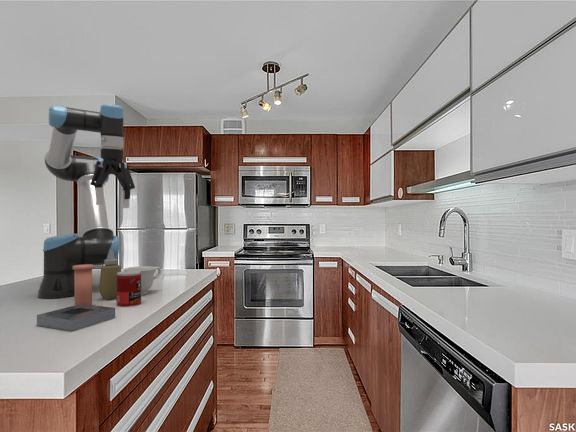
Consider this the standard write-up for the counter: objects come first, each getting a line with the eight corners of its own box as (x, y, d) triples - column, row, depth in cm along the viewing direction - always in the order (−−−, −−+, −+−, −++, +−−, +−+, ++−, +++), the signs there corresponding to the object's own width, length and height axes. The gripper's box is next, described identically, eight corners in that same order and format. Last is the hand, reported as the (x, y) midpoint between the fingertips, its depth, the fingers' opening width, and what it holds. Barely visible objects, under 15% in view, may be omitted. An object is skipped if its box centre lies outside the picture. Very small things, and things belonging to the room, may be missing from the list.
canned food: (132, 307, 123) (132, 274, 123) (111, 306, 124) (111, 273, 124) (146, 301, 130) (145, 270, 130) (125, 300, 132) (125, 270, 132)
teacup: (168, 292, 147) (168, 267, 147) (132, 298, 136) (132, 271, 136) (153, 288, 155) (153, 264, 155) (117, 294, 144) (117, 268, 144)
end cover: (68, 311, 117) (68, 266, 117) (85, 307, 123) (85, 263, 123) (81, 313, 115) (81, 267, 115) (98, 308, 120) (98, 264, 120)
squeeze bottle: (127, 296, 138) (127, 249, 138) (111, 301, 131) (111, 251, 131) (111, 295, 141) (110, 248, 141) (93, 300, 133) (93, 250, 133)
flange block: (36, 325, 102) (36, 314, 102) (82, 313, 115) (82, 303, 115) (71, 331, 97) (71, 320, 97) (115, 317, 109) (115, 307, 109)
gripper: (79, 146, 135) (80, 204, 138) (128, 148, 125) (128, 210, 128) (97, 148, 142) (98, 202, 145) (145, 150, 132) (145, 208, 134)
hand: (112, 206), depth 136 cm, fingers open, 13 cm apart
